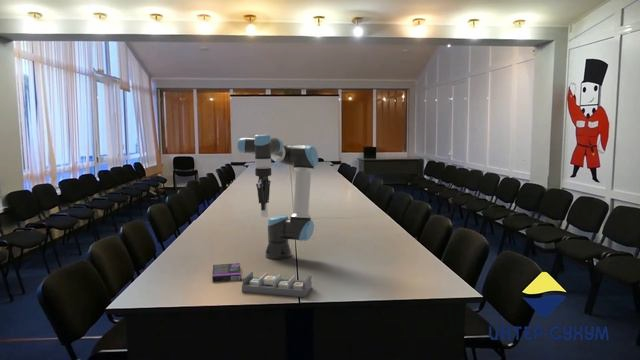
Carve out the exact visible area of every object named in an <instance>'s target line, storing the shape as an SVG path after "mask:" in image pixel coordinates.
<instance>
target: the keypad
mask: <svg viewBox="0 0 640 360" xmlns="http://www.w3.org/2000/svg"><path fill="white" fill-rule="evenodd" d="M266 276H268V272H265V273H263V275H261V276H254V271H252V270H251V271H249V272H248V273H247V274H245V275H244V276H243V277H242V285H241V292H243V293H253V294H263V295H264V294H266V295H273V296H287V297H297V298H306V296H307V295H308V294H309V292H310V291H311V289H312V287H313V286H312V285H313V284H312V283H313V282H312V276H311V275H308V276H307V277H306V278H305V280H297V279H296V275H295V274H293V275H292V277H290V278H289V279H286V278H284V279H283V278H282V274H281V273H279V274H278V275H277V276H276V278H275V279H274V280H273V285H269V284H264V278H265V277H266ZM253 278H255V279H258V286H255V285H250V281H251V280H252V279H253ZM280 281H288V288H278V284H279V283H280ZM295 282H303V290H301V289H293V284H294V283H295Z"/></svg>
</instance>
